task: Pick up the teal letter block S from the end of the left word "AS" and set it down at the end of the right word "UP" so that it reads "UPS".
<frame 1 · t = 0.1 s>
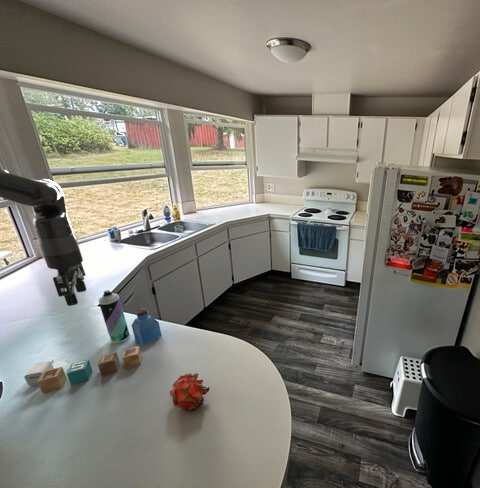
hand: (77, 297, 78), 22 cm above the table, tool pointing down, fingers open, 8 cm apart
perfume bottle: (148, 337, 94), on the table
block A: (55, 385, 74), on the table
block U: (111, 369, 80), on the table
spray can: (120, 338, 93), on the table
dragon fruit: (191, 402, 70), on the table
usb wall charger: (44, 375, 77), on the table
block S: (82, 377, 77), on the table
block P: (134, 362, 83), on the table
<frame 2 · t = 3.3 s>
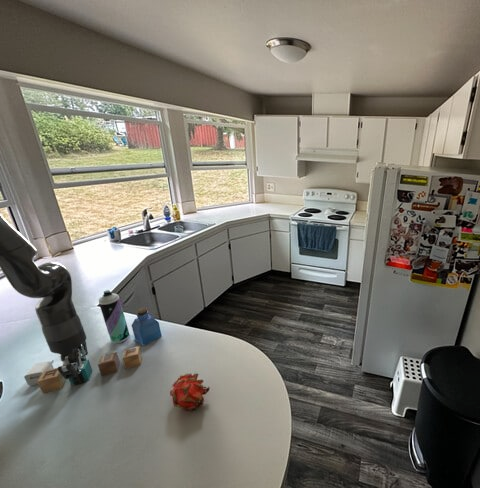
hand: (82, 377, 76), 0 cm above the table, tool pointing down, fingers closed on block S, 4 cm apart
block S: (82, 377, 77), on the table, touching gripper
everything else where it was.
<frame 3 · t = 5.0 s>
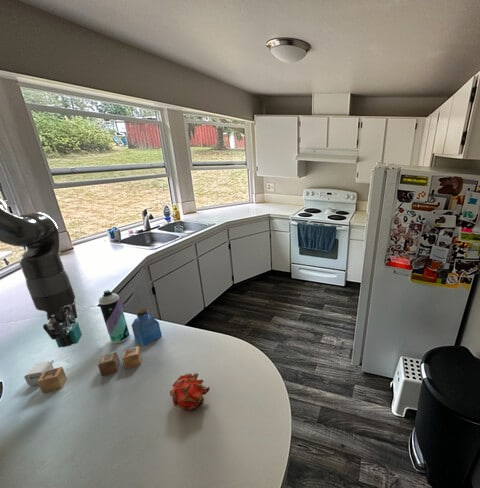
hand: (70, 340, 72), 14 cm above the table, tool pointing down, fingers closed on block S, 4 cm apart
block S: (70, 341, 72), point 14 cm above the table, touching gripper
everything else where it was.
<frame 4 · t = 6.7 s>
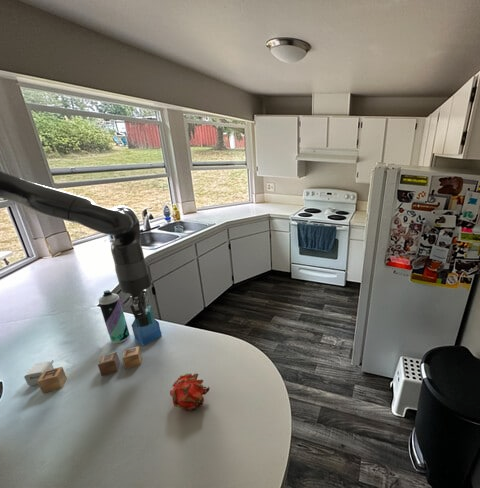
hand: (145, 321, 80), 15 cm above the table, tool pointing down, fingers closed on block S, 4 cm apart
block S: (145, 321, 80), point 14 cm above the table, touching gripper
everything else where it was.
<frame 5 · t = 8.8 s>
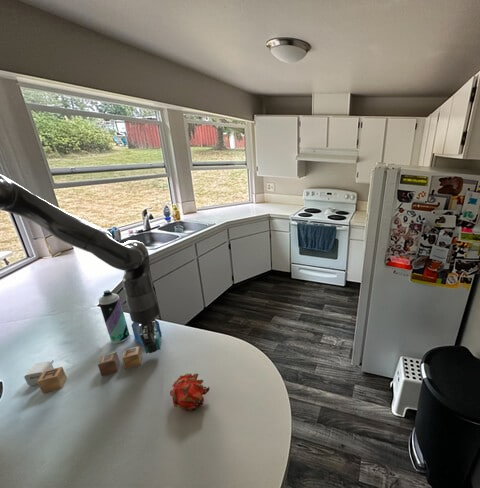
hand: (153, 347, 84), 4 cm above the table, tool pointing down, fingers closed on block S, 4 cm apart
block S: (153, 347, 84), point 4 cm above the table, touching gripper
everything else where it was.
when the fingers open (0 cm above the table, at t = 10.1 s): block S stays where it is, on the table.
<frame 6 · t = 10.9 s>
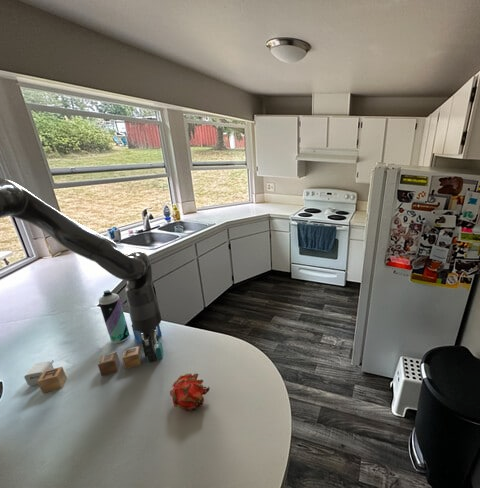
hand: (154, 352, 85), 2 cm above the table, tool pointing down, fingers open, 8 cm apart
block S: (155, 356, 85), on the table
everything else where it was.
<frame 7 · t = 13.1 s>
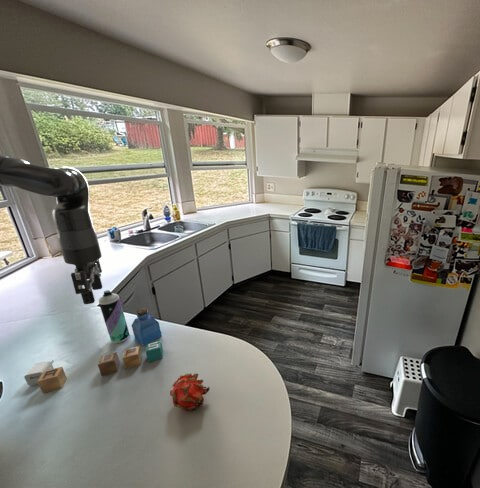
hand: (93, 295, 73), 26 cm above the table, tool pointing down, fingers open, 8 cm apart
nothing on the table moved.
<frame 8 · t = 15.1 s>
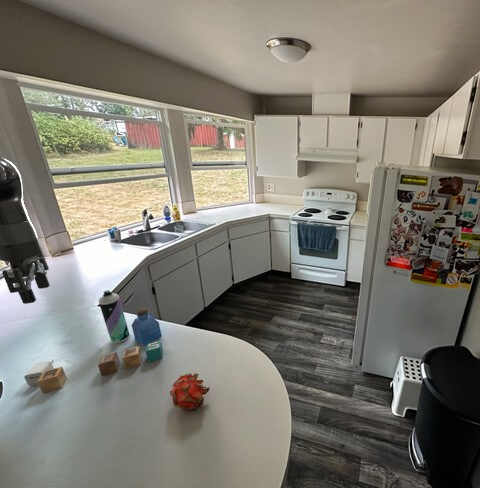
hand: (37, 294, 69), 28 cm above the table, tool pointing down, fingers open, 8 cm apart
nothing on the table moved.
at the end: block S 0.1 cm from the target spot, on the table; block S tilted 0°; block P moved 0.0 cm from its start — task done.
